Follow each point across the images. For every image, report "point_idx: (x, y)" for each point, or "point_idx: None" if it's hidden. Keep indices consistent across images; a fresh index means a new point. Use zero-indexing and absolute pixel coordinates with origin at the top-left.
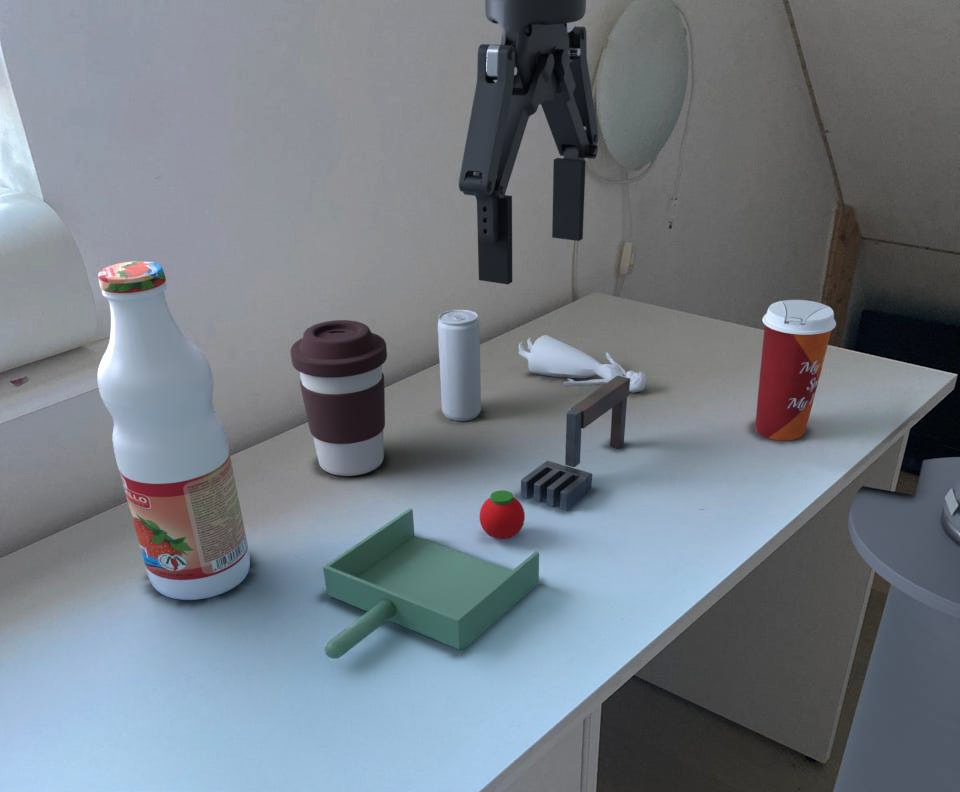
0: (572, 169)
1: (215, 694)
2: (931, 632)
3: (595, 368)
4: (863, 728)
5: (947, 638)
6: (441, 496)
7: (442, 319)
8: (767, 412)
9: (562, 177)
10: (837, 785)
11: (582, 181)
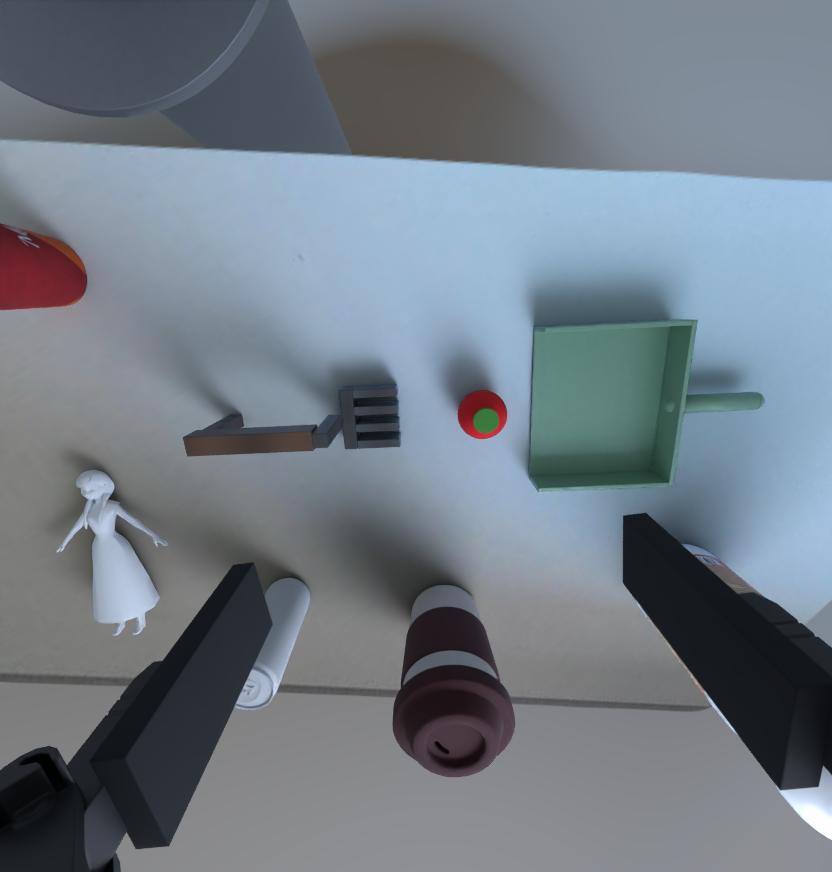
0: (161, 753)
1: (809, 451)
2: None
3: (110, 535)
4: (280, 128)
5: None
6: (447, 503)
7: (267, 698)
8: (59, 278)
9: (189, 751)
10: None
11: (162, 686)
